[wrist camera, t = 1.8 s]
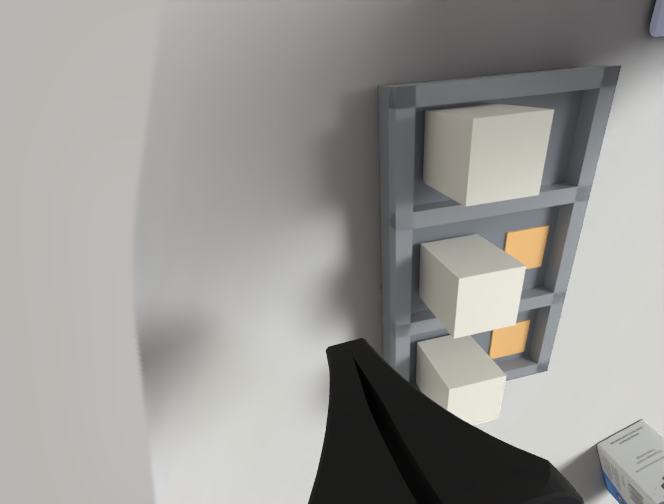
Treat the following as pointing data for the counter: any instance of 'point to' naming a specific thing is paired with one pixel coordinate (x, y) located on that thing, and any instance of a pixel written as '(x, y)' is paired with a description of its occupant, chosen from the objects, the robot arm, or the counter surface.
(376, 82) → the counter surface
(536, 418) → the counter surface
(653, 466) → the ink box
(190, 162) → the counter surface
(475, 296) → the cream rectangular block
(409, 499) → the robot arm
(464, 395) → the off-white rectangular block
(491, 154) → the off-white rectangular block
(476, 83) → the grey divided tray
